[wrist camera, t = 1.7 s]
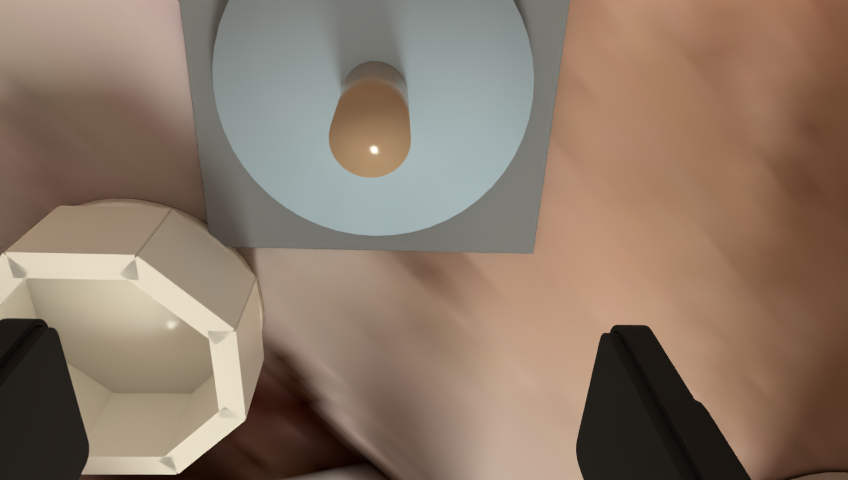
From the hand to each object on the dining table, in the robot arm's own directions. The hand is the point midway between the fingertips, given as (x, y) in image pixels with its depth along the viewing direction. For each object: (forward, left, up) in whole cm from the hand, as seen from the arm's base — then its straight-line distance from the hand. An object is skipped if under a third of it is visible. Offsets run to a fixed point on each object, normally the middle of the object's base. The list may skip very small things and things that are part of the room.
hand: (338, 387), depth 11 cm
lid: (0, -1, -19) cm, 19 cm away
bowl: (+12, +11, -19) cm, 25 cm away
